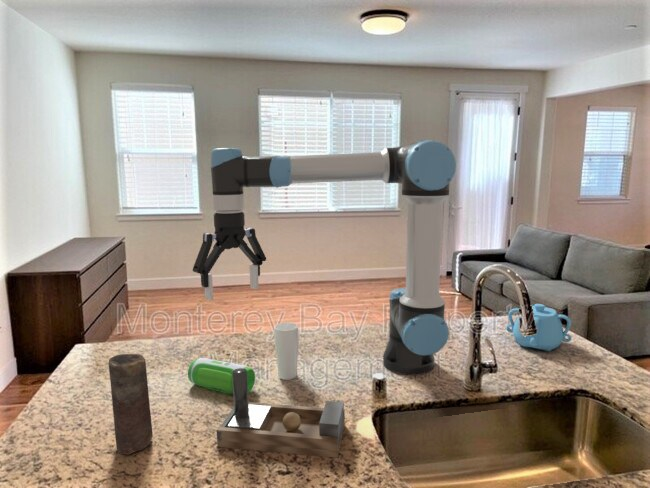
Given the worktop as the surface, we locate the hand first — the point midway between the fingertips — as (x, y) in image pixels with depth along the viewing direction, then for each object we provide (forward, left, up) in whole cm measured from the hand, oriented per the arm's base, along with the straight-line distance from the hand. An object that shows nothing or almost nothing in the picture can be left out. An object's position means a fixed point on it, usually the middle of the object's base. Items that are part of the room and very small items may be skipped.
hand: (232, 293), depth 117 cm
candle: (+14, +26, -27) cm, 40 cm away
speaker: (+5, -1, -27) cm, 28 cm away
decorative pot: (-87, -44, -27) cm, 101 cm away
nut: (-19, +18, -23) cm, 35 cm away
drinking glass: (-11, -10, -27) cm, 31 cm away
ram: (-10, +18, -25) cm, 32 cm away
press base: (-17, +18, -27) cm, 37 cm away
